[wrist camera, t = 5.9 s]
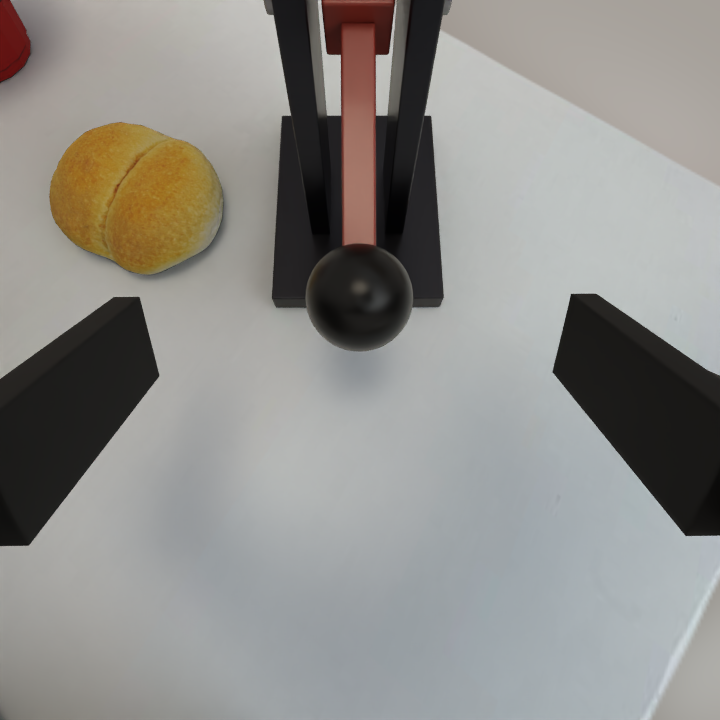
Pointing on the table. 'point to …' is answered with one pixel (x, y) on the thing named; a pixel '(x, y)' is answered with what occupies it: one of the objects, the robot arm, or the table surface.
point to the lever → (358, 195)
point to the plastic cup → (12, 41)
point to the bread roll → (136, 197)
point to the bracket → (324, 155)
